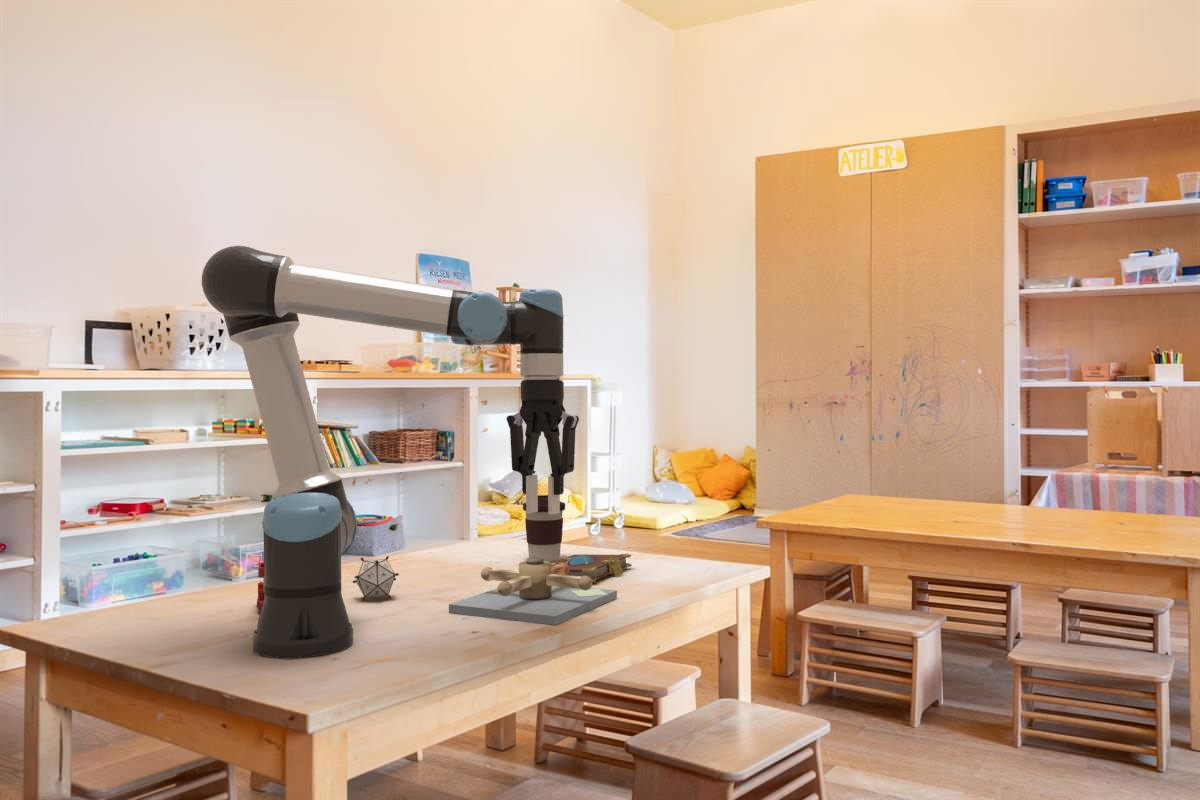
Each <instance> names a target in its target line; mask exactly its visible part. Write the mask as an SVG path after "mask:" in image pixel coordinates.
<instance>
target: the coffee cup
mask: <svg viewBox="0 0 1200 800" xmlns="http://www.w3.org/2000/svg"><path fill="white" fill-rule="evenodd" d="M565 510H566V502H563V501H560V513H557V514H553V515H550V514H548V494H547V495H546V494H545V495H544V494H543V495H542V494H541V495H540V494H538V512H534V513H526V502H524V503H523V504H522V511H524V512H525V518H524V521H525V522H524V523H525V533H526V534H525V535H526V543H527V550H528V558H543V559H544V561H548V562H551V563H552V562H554V561H557V560H558V557H561V547H562V546H561V545H562V541H563V528H564V525H563V524H564V518H563V512H564V511H565Z"/></svg>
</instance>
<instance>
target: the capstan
mask: <svg viewBox="0 0 1200 800" xmlns="http://www.w3.org/2000/svg"><path fill="white" fill-rule="evenodd" d="M551 563H552V562H548V561H544V559H543V558H529V557H528V558H526V560H525V561H521V562H519V563H518V570H511V569H500V568H499V569H498V568H493V567H490V566H486V567H484V568H482V570H481V571H480V576H481V578H482V579H483V581H486V582H490V581H498V582H500V583H499V584H497V588H498V592H499V594H500V595H502V596H508V595H509V594H511V593H514V592H517V591H519V596H520V597H521V598H526V599H542V598H548V597H550V596H552V586H558V587H568V588H579V589H582V590H589V589H590V588H593V587H592V586H593V582H592V579H591V578H590V577H588V576H582V577H580V576H568V575H567V574H568V572H569V566H568V564H566V563H564V562H561V563H559V564H558V565H555V566H552V567H551Z"/></svg>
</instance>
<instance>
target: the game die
mask: <svg viewBox="0 0 1200 800" xmlns="http://www.w3.org/2000/svg"><path fill="white" fill-rule="evenodd" d="M389 559H390V558H389V555H387V556H386V557H385V558H384V559H366V560H365V559H364V557H362V556H360V560H361V561H362V563H361V565H360V569H359V571H358V574H357V575H354V579H356V580H352V583H353V584H356V585H357V586H358V588H359V591H360V592H361V593H362V595H363V597H362V599H361V600H362V602H363V601H365V600H366V598H375V597H377V598H378V597H387V599H388V600H391V595H390V592H391V589H392V587H393V583H394V582H396V581H397V578H396V577H397V576H399V575H400V573H399V572H396V573H395V571H394V569H393V567H392V566H391V565H390V563H389V561H388V560H389Z"/></svg>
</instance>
